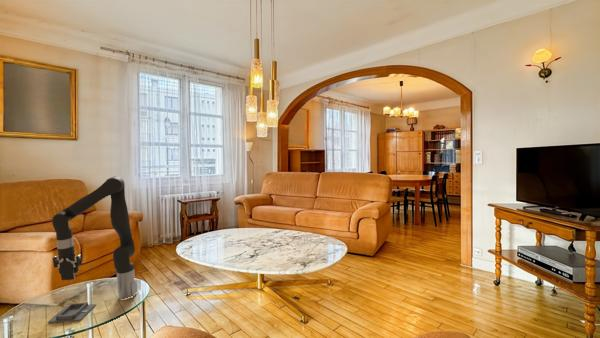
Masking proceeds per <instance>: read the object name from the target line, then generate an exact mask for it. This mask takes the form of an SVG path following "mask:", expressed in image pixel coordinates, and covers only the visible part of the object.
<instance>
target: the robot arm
mask: <svg viewBox="0 0 600 338" xmlns="http://www.w3.org/2000/svg"><path fill="white" fill-rule="evenodd" d="M125 186H126V185H125V181H124V179H123V178H122V177H120V176H116V175H115V176H111V177H109V178H107V179H106V180H105V181H104V182H103V183H102V184H101V185H100V186H99V187H97V188H96V189H95V190H93V191H92V192H91V193H89V194H86V195H85V196H83V197H81V198H79V199H78V200H76V201H75V202H73V203H72V204H70V205H69V206H67V207H65V208H64V209H63V210H61V211H59V212H58V213H56V214H55V215H53V217H52V218H51V219H52V220H51V221H52V226H53V229H54V231H55V236H56V249H57V255H55V256H54V257H52V262H53V263H52V264H53V268H57V269H58V274H59V275H61V273H60V266H59V264H60V262H63V261H70V262H71V263H72V264H73V267H74V273H75V274H78V272H79V266H81V265H82V255H81V254H78V255H76V249H75V241H74V236H73V230H72V228H71V227H70V226H69V222H70V221H71V220H72V219H74V218H75V217H77V216H79V215H80V214H82V213H84V212H86V211H87V210H89V209H90V208H92V207H93V206H95V205H96V204H97V203H98V202H100V201H101V200H104V199H105V198H107V197H108V196H110V201H111V202H110V209H109V210H110V213H109V215H110V223H111V226H112V228H113V230H114V232H116V233H117V235H118V237H119V242H120V243H119V244H120V245H119V246H117V247H116V248H115V249H114V250H113V252H112V253H113V254H112V259H113V265H114V269H115V270H116V281H117V294H118V299H119V300H120V299H125V298H128V297H131V296H134V294H135V293H136V292H137V293H138V283H137V278H135V275H136V274H135V266H134V265H135V264H134V263H133V262H131V260H130V258H131V257H132V256H134V254H135V252H136V247H135V243H134V239H133V235H132V230H131V229H132V228H131V224H130V223H131V222H130V215H129V211H128V206H127V205H128V204H127V201H126V193H125ZM73 260H75V261H74V262H72V261H73ZM74 263H75V264H74Z"/></svg>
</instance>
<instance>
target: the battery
mask: <svg viewBox="0 0 600 338" xmlns="http://www.w3.org/2000/svg"><path fill="white" fill-rule="evenodd" d="M74 261H75V260H73V261H72V262H74ZM59 263H60V264H59V266H60V273H61V274H60V273H59V274H60V278H61V281H71V280H72V281H73V280H75V279H76V278H77V275H76V273H74V267H73V264H72V263H71V262H70V261H63V262H60V261H59ZM74 264H75V263H74Z"/></svg>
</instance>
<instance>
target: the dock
mask: <svg viewBox="0 0 600 338" xmlns="http://www.w3.org/2000/svg"><path fill="white" fill-rule="evenodd" d="M96 306H97V304H96V303H94V304H93V303H91V304H89V302H86V301H85V302H74V303H71V302H70V304H69V305H66V306H64V307H63V308H62V309H61V310H59V311H58V312H57V313H56V314H55V315H54V316H52V317H51V318H50V319H49V320H48V321H47V324H48V323H49V324H59V323H75V322H81V321H82V320H83V319H84V318H85V317H86V316H87V315H88V314H89V313H90V312H91V311H93V309H94V308H95V307H96Z"/></svg>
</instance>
